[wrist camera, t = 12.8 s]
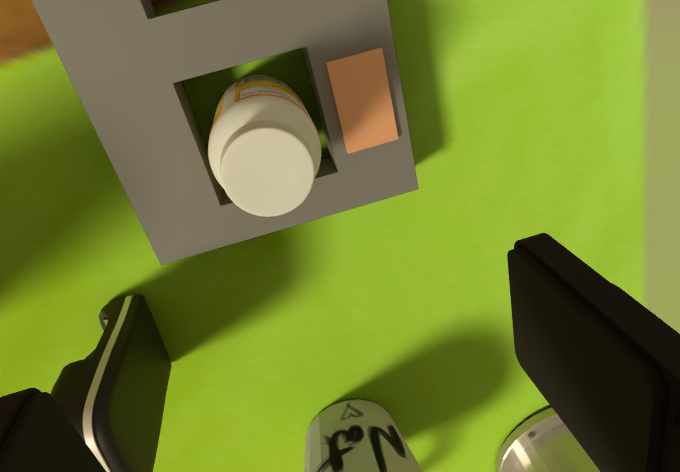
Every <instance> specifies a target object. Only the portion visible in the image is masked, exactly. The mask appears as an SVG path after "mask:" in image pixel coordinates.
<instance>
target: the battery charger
mask: <svg viewBox="0 0 680 472" xmlns="http://www.w3.org/2000/svg"><path fill="white" fill-rule="evenodd" d="M99 320H100V323H101V325H102V328H103V330H104V332H103V335H102V337H101V339H100V341H99V343H98V345H97V347H96V349H95V350H94V351H93V352H92V353H91V354H90V355H89V356H87V357H86V358H85V359H84V360H80V361H76V362H73V363H70V364H68V365H67V366H65V367H64V368H63V370H62V372H61V374H60V376H59V377H58V379H57V381H56V383H55V385H54V387H53V389H52V391H51V394H50V395H51V396H52V397H53V399H54V400H55V401H56V403H57V404H58V406H59V407H60V408H61V410H62V411H63V412H64V414H65V415H66V417H67V418H68V419H69V421H70V422H71V423H72V425H73V426H74V428H75V429H76V430H77V432H78V433H79V434H80V436H81V437H82V439H83V440H84V441H85V443H86V444H87V446H88V447H89V448H90V450H91V451H92V452H93V454H94V455H95V457H96V458H97V459H98V461H99V462H100V463H101V465H102V466H103V468H104V469H105V470H106V472H153V467H154V462H155V457H156V452H157V447H158V441H159V435H160V429H161V423H162V417H163V411H164V404H165V397H166V391H167V386H168V381H169V376H170V371H171V362H170V360H169V357H168V355H167V352H166V349H165V347H164V344H163V342H162V339H161V337H160V334H159V332H158V329H157V327H156V325H155V322H154V320H153V317H152V315H151V312H150V310H149V308H148V305H147V303H146V301H145V298H144V297H143V296H141V295H137V296H134V295H130V296H126V298H123V299H118V300H115V301H113V302H110V303H109V304H107V305H105V306H104V307H103V308H102V310H101V312H100V315H99Z"/></svg>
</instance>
